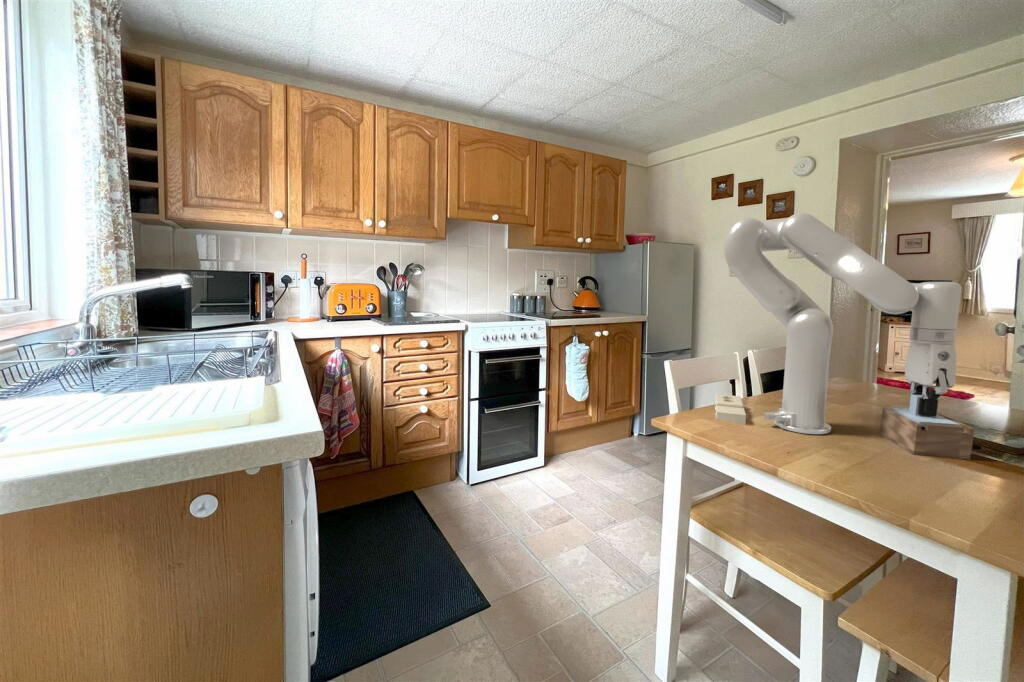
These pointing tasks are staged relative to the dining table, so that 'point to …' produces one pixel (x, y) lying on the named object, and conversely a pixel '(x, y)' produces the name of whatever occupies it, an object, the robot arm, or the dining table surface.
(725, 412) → the electrical outlet
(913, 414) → the lid
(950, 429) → the box
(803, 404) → the robot arm
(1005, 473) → the dining table surface
